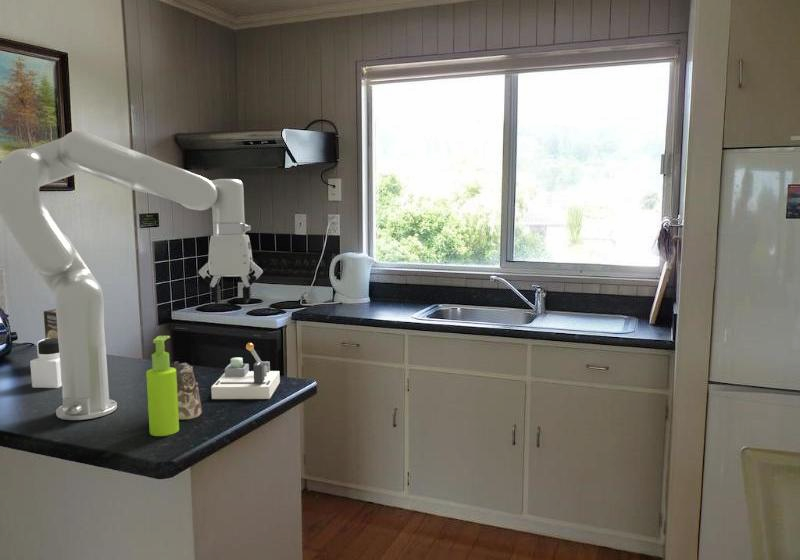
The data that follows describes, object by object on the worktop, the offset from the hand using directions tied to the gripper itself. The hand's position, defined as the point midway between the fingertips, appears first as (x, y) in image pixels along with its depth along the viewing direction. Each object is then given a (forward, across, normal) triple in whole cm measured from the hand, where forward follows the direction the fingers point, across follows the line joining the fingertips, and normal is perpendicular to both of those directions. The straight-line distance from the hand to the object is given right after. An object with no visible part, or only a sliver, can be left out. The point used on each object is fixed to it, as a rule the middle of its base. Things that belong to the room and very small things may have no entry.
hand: (231, 301), depth 166 cm
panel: (+23, -3, 0) cm, 23 cm away
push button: (+18, 0, -4) cm, 19 cm away
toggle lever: (+18, -6, -4) cm, 20 cm away
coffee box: (+23, +55, -25) cm, 65 cm away
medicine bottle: (+23, +49, -6) cm, 54 cm away
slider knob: (+19, -7, +4) cm, 21 cm away
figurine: (+23, +7, +18) cm, 30 cm away
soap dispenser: (+23, +8, +28) cm, 37 cm away
